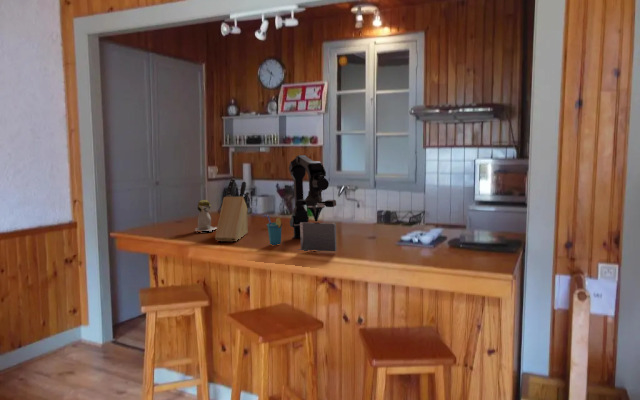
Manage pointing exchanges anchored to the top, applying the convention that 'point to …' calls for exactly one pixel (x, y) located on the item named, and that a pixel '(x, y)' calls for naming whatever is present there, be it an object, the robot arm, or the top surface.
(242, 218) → the knife block
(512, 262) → the top surface
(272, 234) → the cup
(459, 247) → the top surface
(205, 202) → the white figurine
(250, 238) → the top surface
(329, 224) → the dark grey flat panel
